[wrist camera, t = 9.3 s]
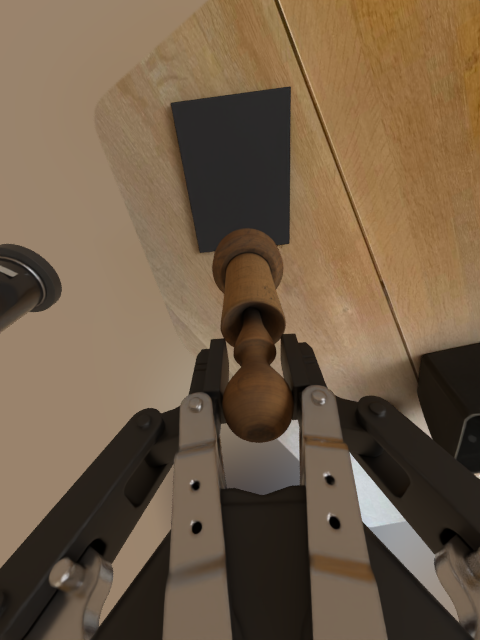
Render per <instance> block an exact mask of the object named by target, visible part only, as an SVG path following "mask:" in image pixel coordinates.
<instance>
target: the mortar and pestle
mask: <svg viewBox="0 0 480 640" xmlns="http://www.w3.org/2000/svg"><path fill="white" fill-rule="evenodd" d="M212 271H213V277H214V280H215V282H216V284H217V286H218V288H219V289H220V290H221V291H222V292H223V293H224V302H223V310H222V318H221V332H222V335H223V337H224V338H225V340H226V341H227V342H228V343H229V344H230V345H231V346H233V347H234V358H235V360H236V362H237V363H238V364H239V365H240V366H241V368H240V369H239V370H238V371H237V372H236V374H235V375H234V376H233V377H232V378H231V380H230V381H229V383H228V384H227V386H226V388H225V391H224V394H223V400H222V408H223V414H224V418H225V420H226V423H227V424H228V426H229V428H230V429H231V430H232V432H233V433H234V434H236V435H237V436H238V437H240V438H241V439H243V440H246V441H249V442H256V443H257V442H258V443H262V442H268V441H271V440H274V439H276V438H278V437H280V436H281V435H282V434H283V433H284V432H285V431H286V430H287V428H288V427H289V425H290V423H291V420H292V417H293V412H294V401H293V396H292V392H291V389H290V387H289V385H288V384H287V382H286V381H285V380H284V378H283V377H282V376H281V375H280V374H278V373H277V372H276V371H275V370H274V369H273V368H272V367H271V366H270V364H271V363H272V362H273V361H274V359H275V357H276V348H275V345H274V344H275V343H277V342H278V341H279V340H280V338H281V334H283V333H284V331H285V326H286V322H285V317H284V314H283V311H282V308H281V304H280V301H279V298H278V295H277V292H276V289H277V287H278V286H279V284H280V282H281V279H282V276H283V261H282V257H281V254H280V252H279V250H278V248H277V246H276V244H275V242H274V241H273V240H272V239H271V238H270V237H269V236H268V235H267V234H265V233H263V232H261V231H259V230H256V229H250V228H245V229H239V230H236V231H233V232H231V233H229V234H228V235H226V236H225V237H224V238H223V239H222V240H221V242H220V243H219V245H218V246H217V248H216V251H215V254H214V259H213V266H212Z"/></svg>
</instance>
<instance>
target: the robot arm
mask: <svg viewBox="0 0 480 640" xmlns="http://www.w3.org/2000/svg"><path fill="white" fill-rule="evenodd" d="M46 297H47V288H46V284H45V282H44V280H43V279H42V277H41V276H40V275H39V273H38V272H37V271H36V270H35V269H33V268H32V267H31V266H30V265H28V264H27V263H25V262H23V261H21V260H19V259H17V258H14V257H10V256H0V333H1V332H2V331H4V330H5V329H6V328H8V327H9V326H10V325H12V324H13V323H14V322H16V321H17V320H18V319H20V318H21V317H22V316H24V315H25V314H27V313H28V312H29V311H31V310H32V309H33V308H35V307H37V306H39V305H40V304H41V303H43V302H44V301H45V299H46ZM281 365H282V371H283V376H284V380H285V381H286V382H287V384H288V385H289V387H290V389H291V392H292V396H293V401H294V412H293V417H292V420H298V422H299V427H300V429H299V451H300V485H298V486H289V487H286V488H283V489H281V490H277V491H275V492H272V493H269V494H266V495H259V494H255V493H251V492H247V491H244V490H240V489H236V488H229V489H227V485H226V480H225V472H224V464H223V456H222V447H221V439H220V429H221V424H224V423H226V420H225V418H224V414H223V408H222V400H223V394H224V391H225V388H226V386H227V384H228V381H229V360H228V354H227V347H226V341H225V338H224V339H211V343H210V349H202V350H201V352H200V353H199V354H198V356H197V358H196V363H195V368H194V373H193V377H192V382H191V387H190V391H189V395H188V396H187V397H186V398H185V399H184V400H183V401H182V403H181V405H180V406H179V407H177V408H175V409H173V410H170V411H167V412H164V413H160V412H159V411H158V410H157V409H153V408H147V409H144V410H141V411H139V412H138V413H136V414H135V415H134V416H133V417H132V418H131V419H130V420H129V421H128V423H127V424H126V425H125V426H124V427H123V428H122V430H121V431H120V432H119V433H118V434H117V435H116V436H115V437H114V439H113V440H112V441H111V442H110V444H108V446H107V447H106V448H105V449H104V450H103V451H102V452H101V454H100V455H99V456H98V457H97V458H96V459H95V461H94V462H93V463H92V464H91V465H90V466H89V467H88V468H87V470H86V471H85V472H84V473H83V474H82V476H81V477H80V478H79V479H78V480H77V481H76V482H75V483H74V485H73V486H72V487H71V488H70V489H69V491H67V493H66V494H65V495H64V496H63V497H62V498H61V500H60V501H59V502H58V503H57V504H56V505H55V506H54V508H53V509H52V510H51V511H50V512H49V513H48V514H47V516H46V517H45V518H44V519H43V520H42V521H41V522H40V524H39V525H38V526H37V527H36V528H35V530H33V532H32V533H31V534H30V535H29V536H28V537H27V539H26V540H25V541H24V542H23V543H22V544H21V546H20V547H19V548H18V549H17V550H16V551H15V552H14V553H13V555H12V556H11V557H10V558H9V559H8V560H7V562H6V563H5V564H4V565H3V566H2V567H1V568H0V640H480V479H479V478H478V477H476V476H475V475H474V474H473V473H472V472H470V471H469V470H468V469H467V468H466V467H465V466H463V465H462V464H461V463H460V462H459V461H457V460H456V459H455V458H454V457H453V456H452V455H450V454H449V453H448V452H447V451H446V450H444V449H443V448H442V447H441V446H440V445H439V444H437V443H436V442H435V441H434V440H433V439H431V438H430V437H429V436H428V435H427V434H426V433H424V432H423V431H422V430H421V429H420V428H418V427H417V426H416V425H415V424H414V423H413V422H411V421H410V420H409V419H408V418H407V417H406V416H404V415H403V414H402V413H401V412H400V411H398V410H397V409H396V408H395V407H394V406H393V405H391V404H390V403H389V402H388V401H386V400H384V399H382V398H380V397H376V396H365V397H363V398H361V399H360V400H359V402H355V401H350V400H346V399H342V398H339V397H337V396H335V395H334V394H333V392H332V391H331V390H330V389H328V388H327V386H326V384H325V381H324V378H323V376H322V373H321V370H320V368H319V365H318V363H317V360H316V357H315V354H314V352H313V349H312V348H311V347H310V346H309V345H308V344H307V343H306V342H303V343H298V341H297V338H296V335H295V334H281ZM349 452H350V453H351V455H352V456H353V457H354V458H355V459H356V461H357V462H358V463H359V464H360V465H361V467H362V468H363V469H364V470H365V471H366V473H367V474H368V475H369V476H370V477H371V479H372V480H373V481H374V482H375V483H376V485H377V486H378V487H379V488H380V489H381V491H382V492H383V493H384V494H385V495H386V497H387V498H388V499H389V500H390V501H391V503H392V504H393V505H394V506H395V507H396V509H397V510H398V511H399V512H400V513H401V515H402V516H403V517H404V518H405V519H406V521H407V522H408V523H409V524H410V525H411V526H412V528H413V529H414V530H415V531H416V533H417V534H418V535H419V536H420V537H421V538H422V540H423V541H424V542H425V543H426V545H427V546H428V547H429V548H430V549H431V551H432V552H433V553H434V554H435V558H434V565H435V570H436V574H437V576H438V578H439V580H440V582H441V584H442V586H443V588H444V589H445V591H446V592H447V594H448V595H449V597H450V598H451V600H452V602H453V604H454V606H455V609H456V611H457V614H458V617H459V622H458V621H457V620H455V618H454V617H453V616H452V615H451V614H450V613H449V612H448V611H447V610H446V609H445V608H444V607H443V606H442V605H441V604H440V603H439V602H438V600H436V598H435V597H434V596H433V595H432V594H431V593H430V592H429V591H428V590H427V589H426V588H425V587H424V586H423V585H422V584H421V583H420V582H419V581H418V579H417V578H416V577H415V576H414V575H413V574H412V573H411V572H410V571H409V570H408V569H407V568H406V567H405V566H404V565H403V564H402V563H401V562H400V561H399V560H398V559H397V557H396V556H395V555H394V554H392V552H391V551H390V550H389V549H388V548H387V547H386V546H385V545H384V544H383V543H382V542H381V541H380V540H379V539H378V538H377V537H376V535H375V534H373V532H372V531H371V530H370V529H369V528H368V527H367V526H366V525H365V524H364V523H363V522H362V518H361V513H360V507H359V502H358V497H357V491H356V486H355V480H354V475H353V470H352V464H351V459H350V453H349ZM173 464H174V476H173V478H174V479H173V499H172V521H171V530H170V531H169V533H168V534H167V535H166V537H165V538H164V540H163V541H162V542H161V544H160V545H159V546H158V548H157V549H156V550H155V552H154V553H153V554H152V556H151V557H150V558H149V560H148V561H147V563H146V564H145V565H144V567H143V568H142V569H141V571H140V572H139V574H138V575H137V576H136V578H135V579H134V580H133V582H132V583H131V584H130V586H129V587H128V588H127V590H126V591H125V593H124V594H123V595H122V597H121V598H120V599H119V601H118V602H117V603H116V605H115V606H114V608H113V609H112V610H111V612H110V613H109V614H108V616H107V617H106V618H105V620H104V621H103V623H102V624H101V625H100V627H99V619H100V614H101V610H102V607H103V604H104V602H105V600H106V598H107V596H108V594H109V592H110V589H111V585H112V581H113V568H112V565H111V564H112V563H113V561H114V559H115V558H116V556H117V555H118V553H119V551H120V550H121V548H122V546H123V545H124V543H125V542H126V540H127V538H128V537H129V535H130V533H131V532H132V530H133V529H134V527H135V525H136V524H137V522H138V520H139V519H140V517H141V516H142V514H143V512H144V510H145V509H146V508H147V506H148V504H149V503H150V501H151V499H152V498H153V496H154V495H155V493H156V491H157V490H158V488H159V486H160V485H161V483H162V482H163V480H164V478H165V477H166V475H167V473H168V472H169V470H170V468H171V467H172V465H173Z"/></svg>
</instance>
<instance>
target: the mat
mask: <svg viewBox="0 0 480 640" xmlns="http://www.w3.org/2000/svg"><path fill="white" fill-rule="evenodd" d="M290 103H291V87H283V88H276V89H269V90H261V91H254V92H247V93H240V94H232V95H225V96H218V97H211V98H203V99H196V100H189V101H181V102H174V103H171V107H172V112H173V117H174V123H175V128H176V133H177V138H178V143H179V148H180V153H181V158H182V164H183V169H184V174H185V179H186V184H187V189H188V194H189V199H190V204H191V210H192V215H193V220H194V225H195V230H196V235H197V240H198V245H199V251H200V253H203V252H213V251H216V248H217V246H218V245H219V243H220V242H221V240H222V239H223V238H224V237H225V236H226V235H228V234H229V233H231V232H233V231H236V230H239V229H245V228H250V229H256V230H259V231H261V232H263V233H265V234H267V235H268V236H269V237H270V238H271V239H272V240H273V241H274V242H275V244H276V245H282V244H289V225H290Z"/></svg>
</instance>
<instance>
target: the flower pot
mask: <svg viewBox="0 0 480 640" xmlns="http://www.w3.org/2000/svg"><path fill="white" fill-rule="evenodd" d="M417 393H418V397H419V401H420V405H421V408H422V411H423V415H424V418H425V421H426V423H427V426H428V429H429V431H430V434H431V436H432V439H433V440H434V441H435V442H436V443H437V444H439V445H440V446H441V447H442V448H443V449H444V450H446V451H447V452H448V453H449V454H450V455H452V456H453V457H454V458H455V459H456V460H457V461H459V462H460V463H461V464H462V465H463V466H465V467H466V468H467V469H468V470H469V471H470V472H472V473H473V474H476V473H480V343H479V344H474V345H469V346H464V347H459V348H454V349H449V350H444V351H439V352H434V353H429V354H425V355H424V356H422V358H421V364H420V373H419V381H418V389H417Z"/></svg>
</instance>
